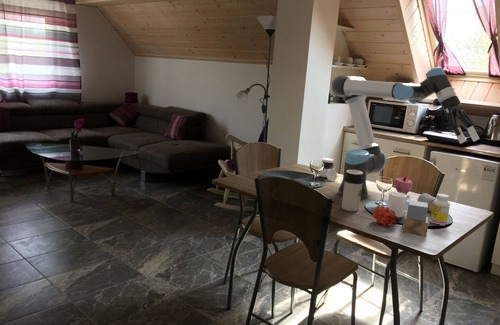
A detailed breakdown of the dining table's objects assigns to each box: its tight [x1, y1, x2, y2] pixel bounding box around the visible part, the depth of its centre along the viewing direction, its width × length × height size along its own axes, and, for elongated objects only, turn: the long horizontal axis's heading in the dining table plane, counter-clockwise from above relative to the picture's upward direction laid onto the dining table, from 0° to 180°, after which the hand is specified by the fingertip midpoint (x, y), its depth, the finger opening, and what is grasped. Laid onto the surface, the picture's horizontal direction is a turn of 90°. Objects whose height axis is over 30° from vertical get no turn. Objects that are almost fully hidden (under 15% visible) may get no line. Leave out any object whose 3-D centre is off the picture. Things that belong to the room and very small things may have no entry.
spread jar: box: [317, 157, 338, 182], centre depth 247 cm, size 12×11×12 cm
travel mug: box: [341, 170, 363, 212], centre depth 193 cm, size 8×8×18 cm
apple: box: [393, 177, 414, 195], centre depth 224 cm, size 10×9×10 cm
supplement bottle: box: [429, 193, 451, 226], centre depth 182 cm, size 7×7×13 cm
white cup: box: [387, 191, 408, 218], centre depth 189 cm, size 8×8×10 cm
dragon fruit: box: [371, 205, 400, 228], centre depth 176 cm, size 8×8×12 cm
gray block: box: [406, 199, 428, 222], centre depth 170 cm, size 7×7×6 cm
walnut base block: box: [401, 212, 429, 238], centre depth 171 cm, size 9×9×6 cm
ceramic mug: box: [416, 192, 437, 213], centre depth 200 cm, size 11×8×8 cm
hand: (470, 141), depth 183 cm, fingers open, 13 cm apart
